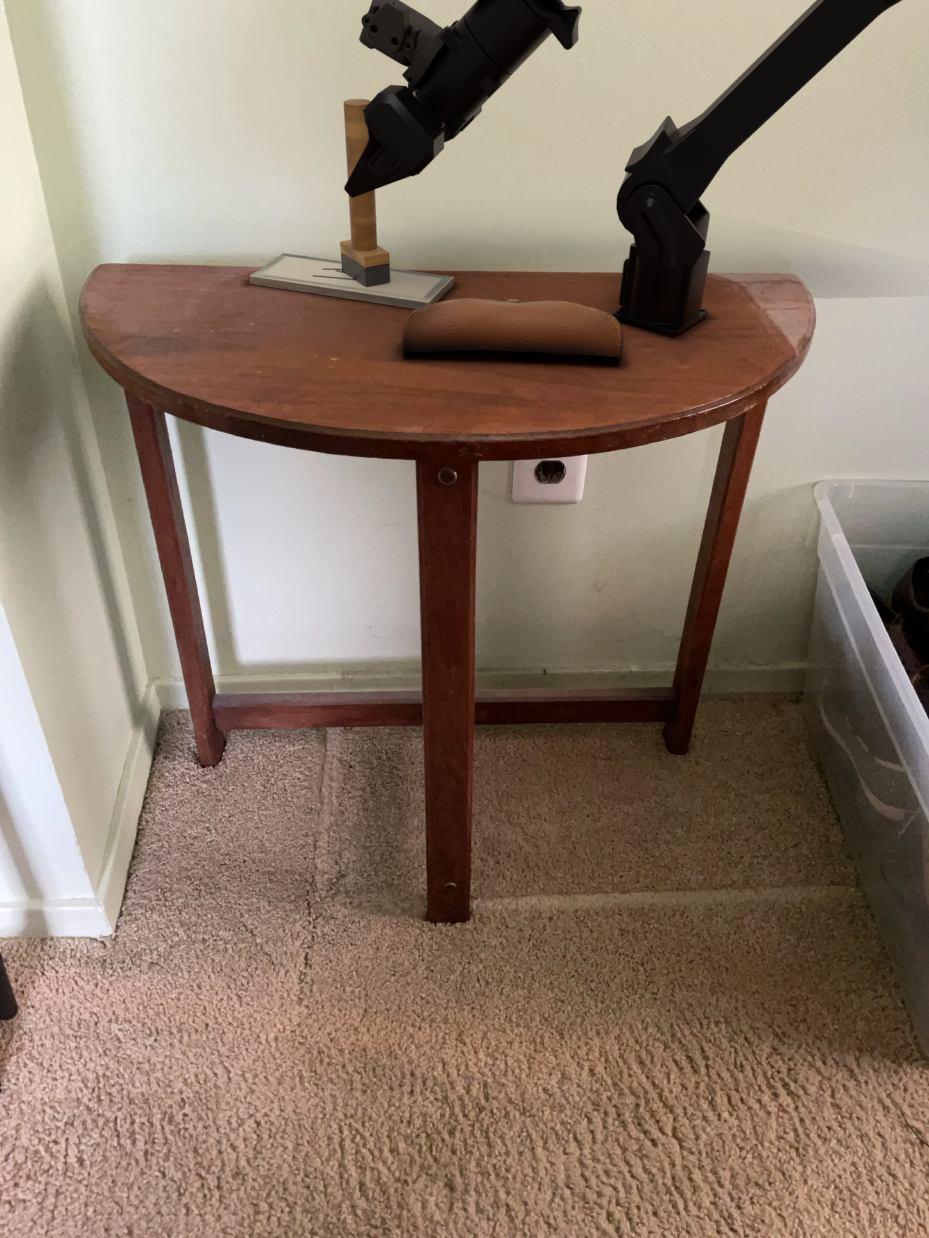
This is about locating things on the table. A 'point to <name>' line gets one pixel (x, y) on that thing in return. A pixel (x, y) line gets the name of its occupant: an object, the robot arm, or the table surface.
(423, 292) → the board
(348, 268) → the tan piece
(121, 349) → the table surface
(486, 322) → the sunglasses case
